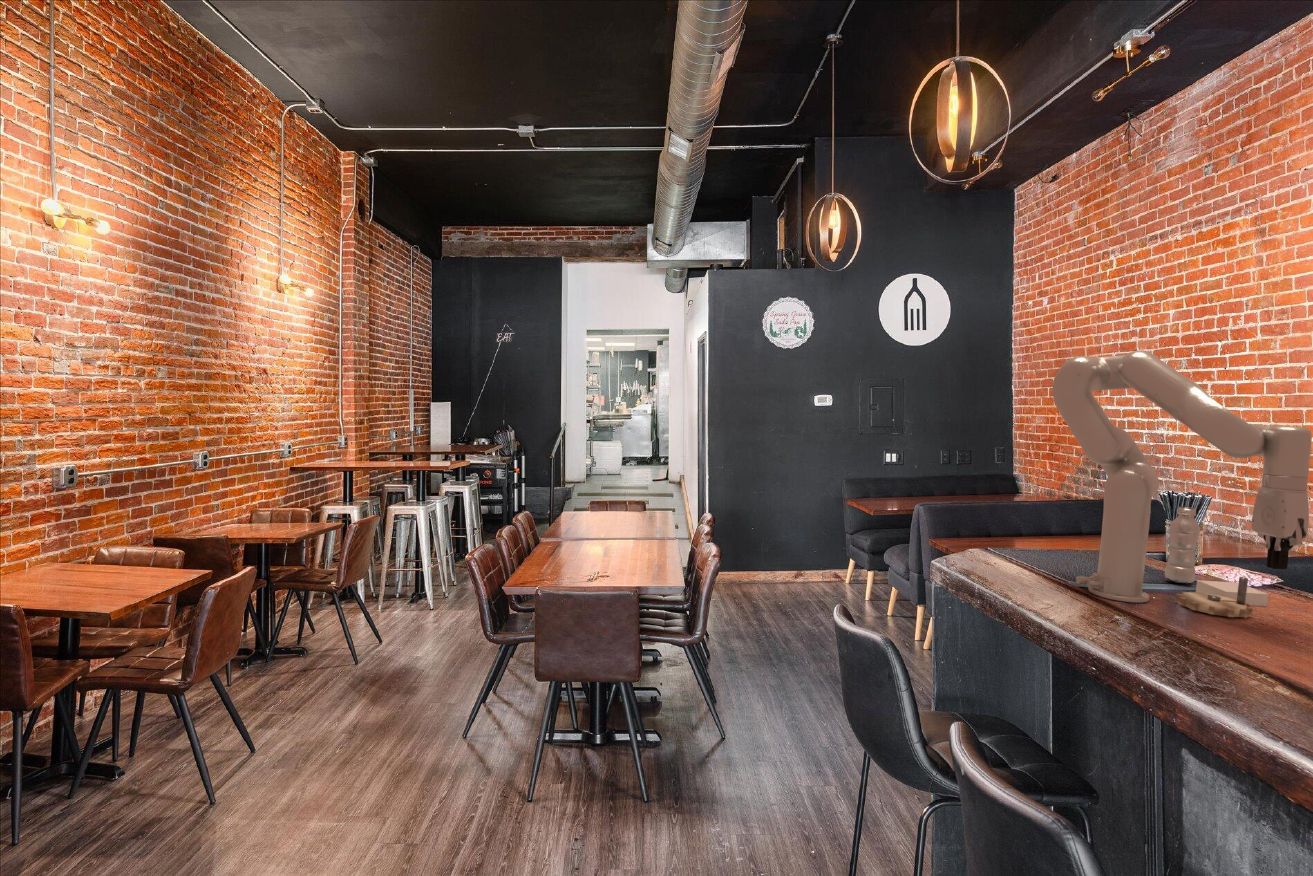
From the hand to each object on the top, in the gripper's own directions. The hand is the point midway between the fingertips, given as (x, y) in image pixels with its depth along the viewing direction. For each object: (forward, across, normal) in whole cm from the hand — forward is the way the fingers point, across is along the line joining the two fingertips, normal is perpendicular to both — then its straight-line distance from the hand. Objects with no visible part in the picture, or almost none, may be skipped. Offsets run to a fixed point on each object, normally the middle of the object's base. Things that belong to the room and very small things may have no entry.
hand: (1276, 568), depth 163 cm
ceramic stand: (+13, -21, +7) cm, 26 cm away
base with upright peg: (+13, -10, -5) cm, 17 cm away
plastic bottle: (+13, -34, +3) cm, 37 cm away
